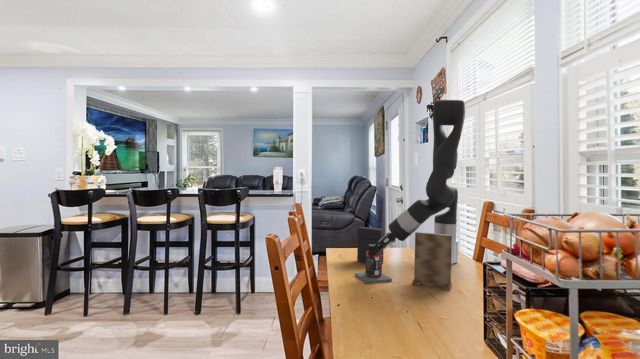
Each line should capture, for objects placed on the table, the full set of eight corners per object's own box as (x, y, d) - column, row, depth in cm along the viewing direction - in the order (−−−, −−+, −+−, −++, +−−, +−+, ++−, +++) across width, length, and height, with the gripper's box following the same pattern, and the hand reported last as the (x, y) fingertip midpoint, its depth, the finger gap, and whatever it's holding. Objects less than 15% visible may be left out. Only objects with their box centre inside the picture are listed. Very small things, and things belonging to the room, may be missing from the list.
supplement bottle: (381, 278, 121) (382, 247, 121) (364, 277, 122) (365, 246, 122) (381, 273, 127) (382, 243, 127) (365, 272, 128) (366, 242, 128)
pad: (378, 273, 131) (378, 270, 131) (391, 281, 122) (391, 278, 122) (354, 275, 128) (354, 273, 128) (366, 284, 118) (366, 281, 118)
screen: (412, 284, 119) (413, 233, 118) (415, 280, 123) (416, 231, 123) (450, 290, 113) (451, 236, 113) (451, 286, 118) (453, 234, 117)
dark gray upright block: (384, 263, 145) (384, 228, 145) (380, 265, 142) (380, 230, 141) (360, 259, 151) (361, 226, 151) (356, 261, 148) (357, 227, 147)
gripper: (402, 214, 127) (372, 241, 132) (392, 219, 114) (359, 249, 119) (416, 230, 124) (385, 257, 130) (408, 236, 112) (373, 266, 117)
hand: (373, 253), depth 125 cm, fingers open, 8 cm apart
